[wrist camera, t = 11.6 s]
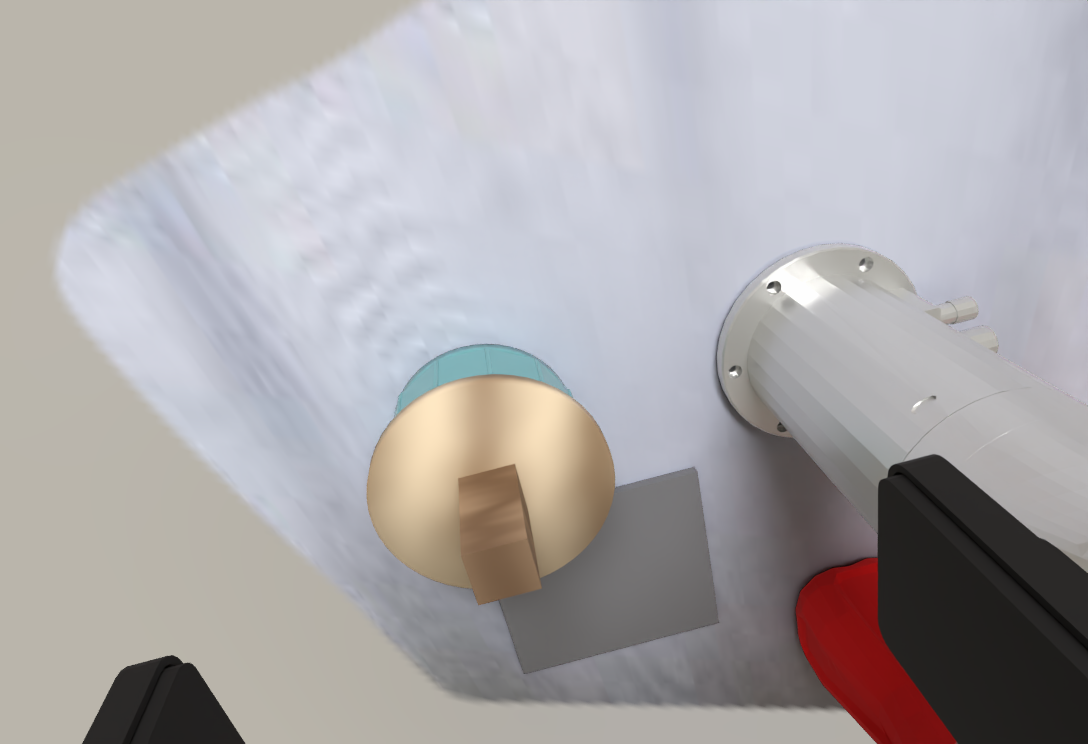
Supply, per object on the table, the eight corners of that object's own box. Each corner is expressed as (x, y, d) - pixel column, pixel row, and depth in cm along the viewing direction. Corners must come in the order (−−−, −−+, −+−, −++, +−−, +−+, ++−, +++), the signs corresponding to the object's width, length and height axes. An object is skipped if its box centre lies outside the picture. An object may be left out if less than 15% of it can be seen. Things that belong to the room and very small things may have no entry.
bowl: (553, 322, 40) (570, 366, 35) (589, 475, 45) (608, 534, 40) (367, 370, 40) (355, 421, 35) (423, 518, 45) (420, 584, 40)
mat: (694, 466, 46) (697, 472, 46) (716, 616, 52) (718, 622, 52) (474, 524, 46) (475, 529, 45) (523, 667, 52) (524, 674, 52)
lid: (587, 346, 35) (618, 414, 28) (628, 543, 40) (662, 636, 34) (332, 411, 34) (307, 495, 28) (411, 600, 40) (405, 704, 34)
